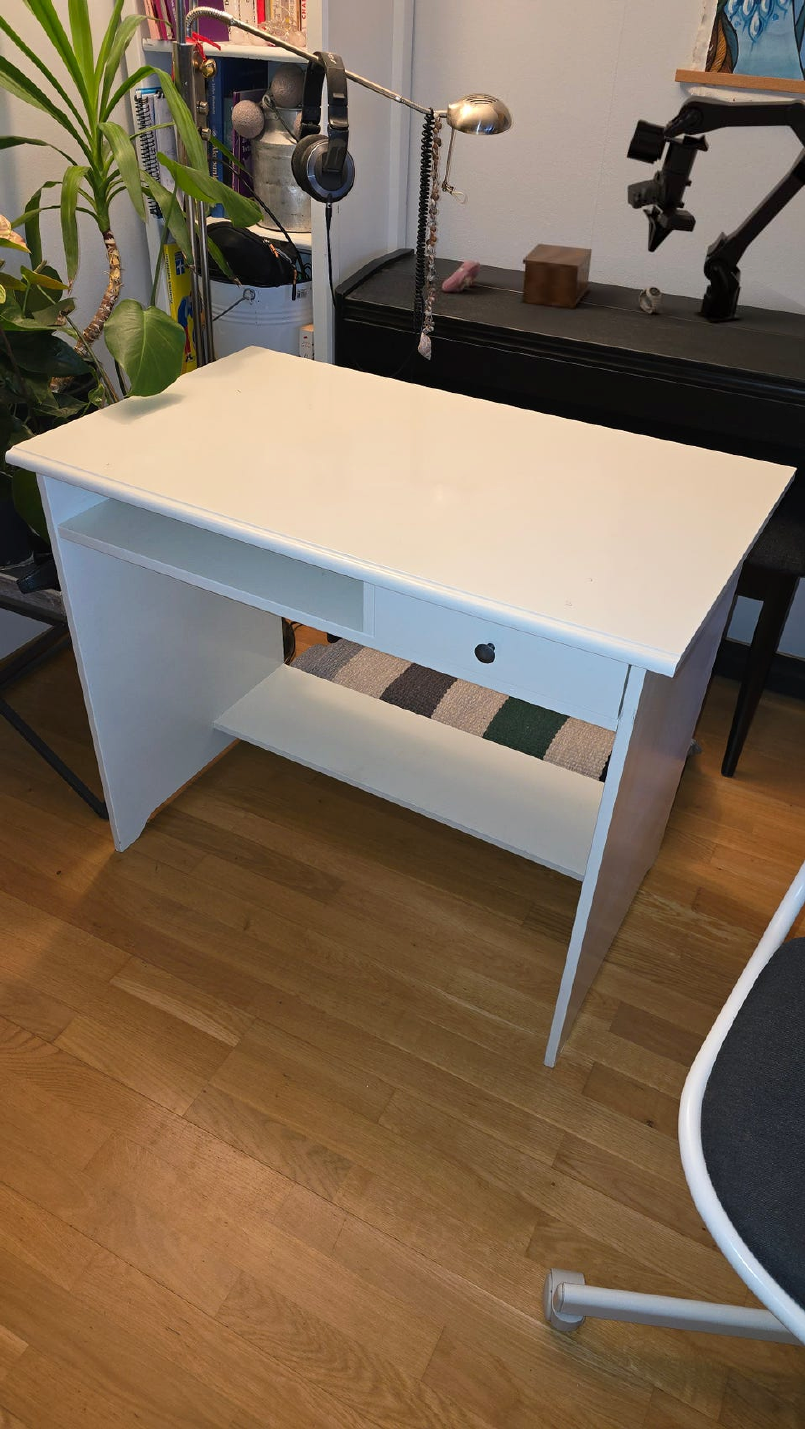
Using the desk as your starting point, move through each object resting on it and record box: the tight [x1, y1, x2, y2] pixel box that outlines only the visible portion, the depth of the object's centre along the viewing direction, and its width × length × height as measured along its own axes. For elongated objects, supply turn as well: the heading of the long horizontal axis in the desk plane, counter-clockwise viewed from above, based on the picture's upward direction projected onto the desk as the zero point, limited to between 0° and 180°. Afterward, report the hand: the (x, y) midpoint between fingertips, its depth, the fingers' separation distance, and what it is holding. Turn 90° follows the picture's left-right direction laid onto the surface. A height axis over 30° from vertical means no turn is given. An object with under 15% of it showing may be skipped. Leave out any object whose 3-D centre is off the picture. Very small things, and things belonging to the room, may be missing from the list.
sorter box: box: [522, 253, 592, 309], centre depth 218 cm, size 12×13×8 cm
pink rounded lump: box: [441, 259, 483, 293], centre depth 223 cm, size 10×5×7 cm, turn 148°
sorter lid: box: [522, 243, 593, 270], centre depth 215 cm, size 12×13×1 cm
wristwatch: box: [638, 285, 662, 314], centre depth 212 cm, size 4×6×5 cm, turn 20°
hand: (650, 251), depth 207 cm, fingers closed
